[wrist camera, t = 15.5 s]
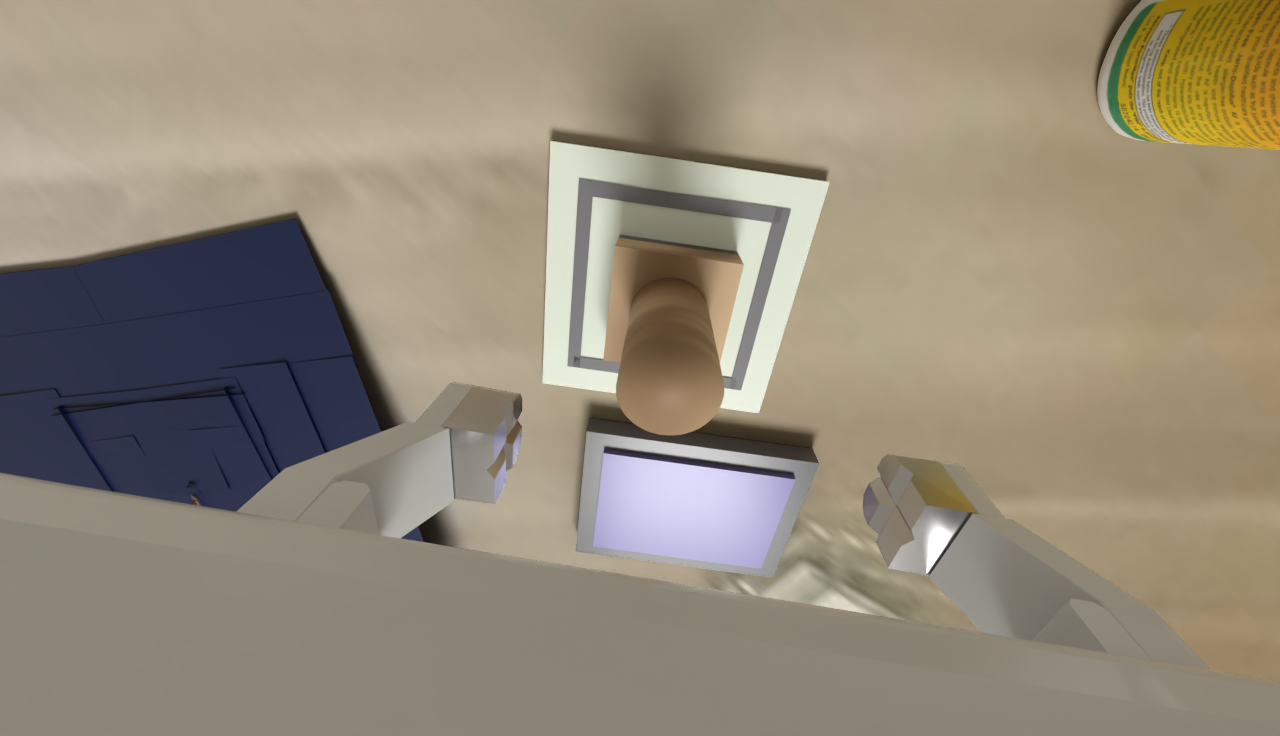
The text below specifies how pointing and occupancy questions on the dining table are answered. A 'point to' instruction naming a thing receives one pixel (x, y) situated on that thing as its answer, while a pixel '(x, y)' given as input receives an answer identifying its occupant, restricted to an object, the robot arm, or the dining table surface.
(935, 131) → the dining table surface
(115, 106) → the dining table surface
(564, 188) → the print card
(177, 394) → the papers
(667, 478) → the ink pad
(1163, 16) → the supplement bottle
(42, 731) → the robot arm
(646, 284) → the stamp
